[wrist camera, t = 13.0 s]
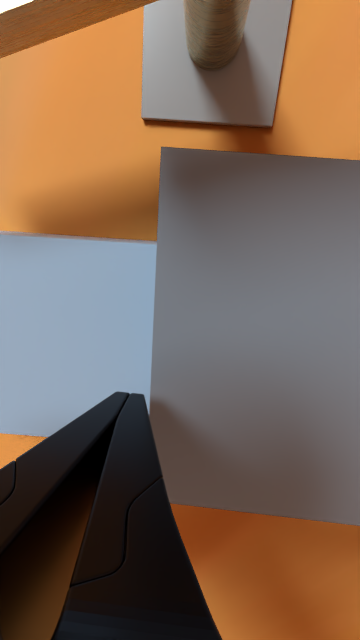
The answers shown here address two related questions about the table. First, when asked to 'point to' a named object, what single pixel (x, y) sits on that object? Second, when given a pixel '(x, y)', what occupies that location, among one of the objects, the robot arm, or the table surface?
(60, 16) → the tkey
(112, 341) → the cover
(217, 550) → the table surface
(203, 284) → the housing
